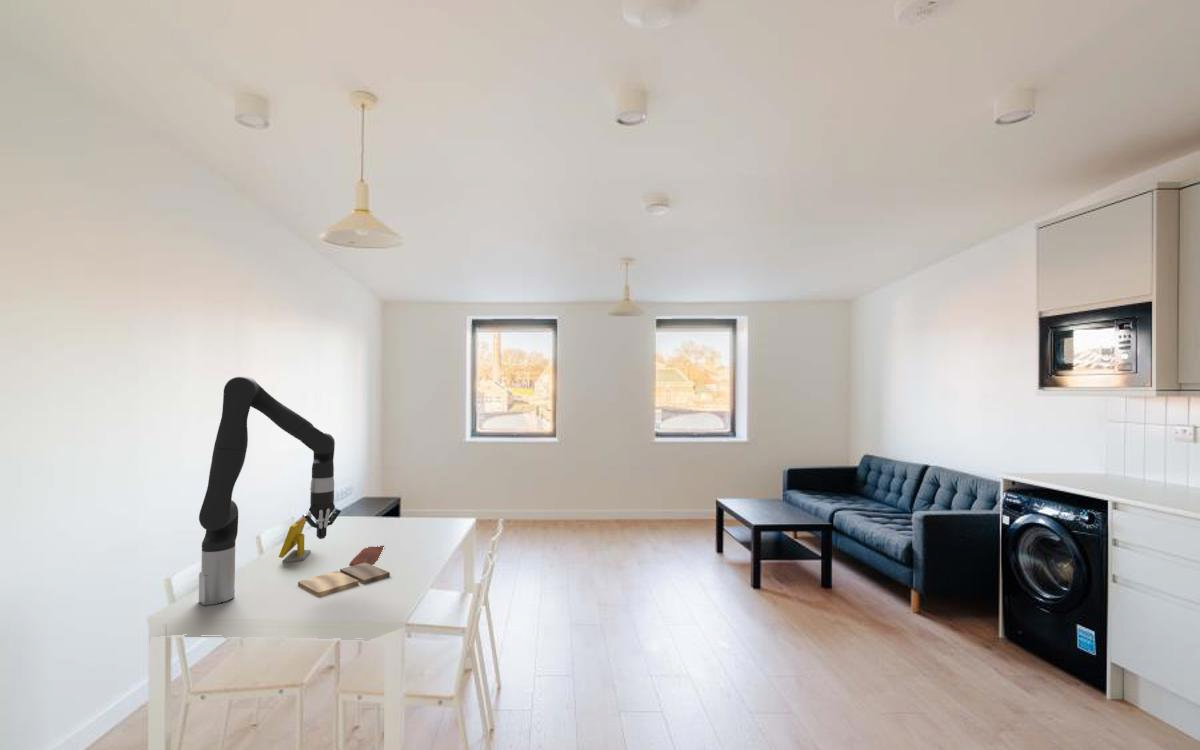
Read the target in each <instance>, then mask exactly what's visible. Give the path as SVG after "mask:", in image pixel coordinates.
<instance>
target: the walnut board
mask: <svg viewBox="0 0 1200 750" xmlns="http://www.w3.org/2000/svg"><path fill="white" fill-rule="evenodd" d="M339 572H341V573H343V574H345V575H348V576H350V577H352V578H354V579H356V580H358V583H359V584H362V585H366V584H370V583H374V582H376V581H380V580H383V579H387V578H389V577H390V576H391V575H390V571H387V570H384V569H382V568H379V567H378V566H375V565H374V564H373V565H370V564H368V563H366V562H365V563H361V564H357V565H354V566H346V567H343V568H340V569H339Z"/></svg>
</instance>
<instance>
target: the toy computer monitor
mask: <svg viewBox="0 0 1200 750" xmlns="http://www.w3.org/2000/svg"><path fill="white" fill-rule="evenodd" d="M306 523H307V521H306V520H305V519H304V518H303V517H302V516H301V517H300V518H298V519H297V520H296V521H294V523H293V524H291V525H290V526H289V529H288V532H287V534H286V536H285V539H284V542H283V544H282V547H281V549H280V553H279V555H278V558H281V559H283V560H282V562H281V563H283V562H285V563H293V562H300V561H301V562H302V561H304V560H305V559H306V558H307V557H308V556H309V555H310V554H311V549H305V534H304V533H303V530H304V527H305V525H306ZM296 546H297V547H296ZM294 547H296V549H294ZM291 550H292V551H291ZM284 557H285V558H284ZM292 561H293V562H292Z"/></svg>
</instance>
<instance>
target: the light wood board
mask: <svg viewBox="0 0 1200 750" xmlns="http://www.w3.org/2000/svg"><path fill="white" fill-rule="evenodd" d="M358 585H359V582H358V580H356V579H354V578H352V577H350V576H348V575H345V574H343V573H341V572H340V570H339V571H338V570H336V571H332V572H328V573H325V574H320V575H317V576H314V577H310V578H306V579H303V580H299V581H297V587H299V588H301V589H303V590H305V591H307V592H309V593H310V594H312V595H314V596H316V597H318V598H319V597H323V596H325V595H329V594H332V593H337V592H339V591H342V590H345V589H349V588H353V587H356V586H358Z"/></svg>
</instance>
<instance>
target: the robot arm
mask: <svg viewBox="0 0 1200 750" xmlns="http://www.w3.org/2000/svg"><path fill="white" fill-rule="evenodd" d="M222 395H223V399H222V409H221V410H222V412H221V418H220V421H219V426H218V430H217V434H216V438H215V441H214V445H213V450H212V457H211V464H210V469H209V475H208V483H207V487H206V492H205V495H204V498H203V501H202V505H201V508H200V510H199V514H198V520H199V521H198V522H199V524H200V526H201V527H202V528H203V529H204V530H205V535H204V538H203V540H202V541H201V542H202V543H201V564H200V565H201V566H200V567H201V570H200V572H199V574H198V602H199V603H200V602H201V603H200V604H201V605H203V606H204V605H206V606H210V605H211V606H212V605H217V604H218V603H219V604H222V603H221V602H223V603H226V602H229V601H231V600H233V599H234V598H235V595H236V594H235V593H236V592H235V591H236V589H235V588H236V587H235V585H236V583H235V581H236V541H237V540H236V539H237V536H238V528H239V509H238V505H237V504H236V502H235V501H234V500H232V497H233V491H234V488H235V485H236V482H237V480H238V478H239V476H240V473H241V472H242V469H243V467H244V464H245V459H246V455H247V452H248V451H247V450H248V444H249V443H248V442H249V440H248V438H249V437H248V435H249V434H248V433H249V432H248V431H249V430H248V418H249V414H250V410H251V408H252V409H255V410H257V411H259V412H260V413H262V414H263V415H264V416H266V417H267V418H268V419H269V420H270V421H272V423H274V424H275V425H276V426H278V427H279V428H280V429H281V430H282V431H284V432H286V433H287V434H289V435H290V436H291V437H294V438H295V439H297V440H299V441H300V442H301V443H303V445H305V446H306V447H307V448H308V449H310V450H311V451H312V452H313V462H312V465H311V480H310V488H309V489H310V502H309V503H310V504H309V505H310V506H309V508H308V512H306V513H305V514H302V516H301V517H303V518H304V519H305V520H306V523H308V524H309V526H310V527H312V528H314V529H316V538H317V539H320V540H323V539H325V538H326V536H327V528H328V527H329V526H332V525H333V524H334V522H335V520H336V519H337V518H338V516H339V515H340V513H341V512H342V511H341V510H340V509H338V508H336V505H335V479H334V476H335V475H334V472H335V466H334V464H335V463H334V458H335V457H334V456H335V445H336V441H335V439H334V437H333V436H332V435H331V434H329V433H326V432H323V431H321V430H320V429H319V428H317V427H315V426H314V424H313V423H311V421H309V420H308V419H306V418H304V417H303V416H302V415H300V414H298V413H297V412H295V411H294V410H292V409H291V408H289V407H287V406H286V405H285V404H283V403H281V402H280V401H279V400H277V399H275V398H274V397H273V396H271V395H270V393H268V392H267V391H266V390H265V389H264V388H263V387H262V386H261V385H259V383H258V382H257V381H256V380H255V379H254V378H252V377H249V376H235V377H233V378H231V379H229V380H228V381H227V382H226V383H225V386H224V388H223V394H222ZM312 517H313V518H314V520H313V519H312ZM233 597H234V598H233ZM232 598H233V599H232ZM230 599H231V600H230ZM228 600H229V601H228ZM225 601H226V602H225Z"/></svg>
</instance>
